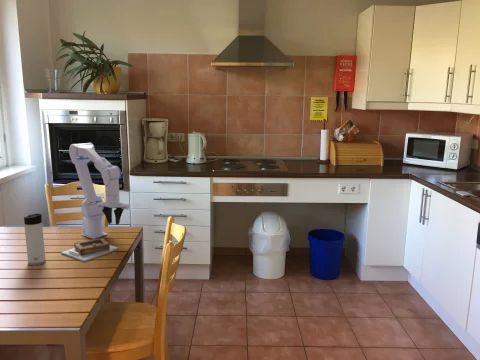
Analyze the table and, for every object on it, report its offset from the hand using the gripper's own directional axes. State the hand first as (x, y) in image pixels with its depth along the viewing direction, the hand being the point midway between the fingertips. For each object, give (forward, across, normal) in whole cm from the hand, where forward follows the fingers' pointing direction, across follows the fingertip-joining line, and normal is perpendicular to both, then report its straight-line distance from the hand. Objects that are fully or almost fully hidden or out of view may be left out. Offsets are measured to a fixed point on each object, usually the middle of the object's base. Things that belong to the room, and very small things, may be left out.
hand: (113, 223), depth 185 cm
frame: (+8, +5, +10) cm, 14 cm away
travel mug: (+10, +20, +26) cm, 34 cm away
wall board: (+9, +6, +11) cm, 16 cm away
